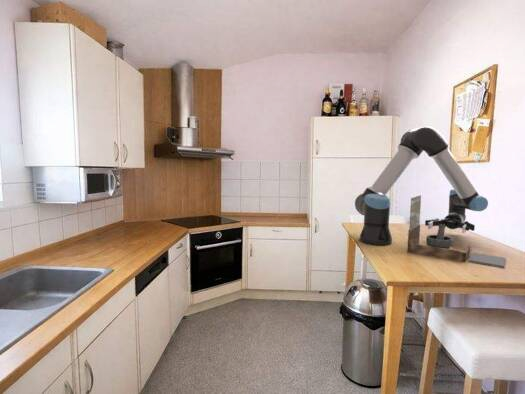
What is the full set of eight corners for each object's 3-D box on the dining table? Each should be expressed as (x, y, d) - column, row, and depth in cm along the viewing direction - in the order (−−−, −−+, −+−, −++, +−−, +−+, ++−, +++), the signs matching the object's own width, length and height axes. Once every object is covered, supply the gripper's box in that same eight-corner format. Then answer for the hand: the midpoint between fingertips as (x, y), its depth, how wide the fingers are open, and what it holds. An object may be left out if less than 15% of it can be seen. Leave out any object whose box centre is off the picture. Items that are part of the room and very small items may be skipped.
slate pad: (468, 261, 117) (468, 259, 117) (472, 254, 127) (472, 252, 127) (504, 268, 110) (504, 266, 110) (505, 259, 120) (505, 257, 120)
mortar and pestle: (449, 257, 122) (451, 229, 121) (424, 253, 128) (425, 226, 127) (453, 251, 131) (454, 225, 130) (429, 247, 137) (430, 222, 136)
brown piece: (407, 251, 131) (410, 198, 128) (416, 244, 142) (419, 195, 139) (465, 262, 117) (470, 202, 114) (470, 253, 128) (474, 198, 125)
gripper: (483, 231, 144) (478, 240, 128) (426, 225, 161) (415, 232, 145) (484, 216, 144) (479, 223, 128) (426, 211, 160) (416, 217, 144)
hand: (445, 228), depth 136 cm, fingers open, 13 cm apart
